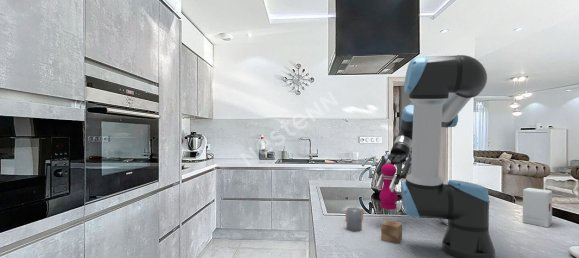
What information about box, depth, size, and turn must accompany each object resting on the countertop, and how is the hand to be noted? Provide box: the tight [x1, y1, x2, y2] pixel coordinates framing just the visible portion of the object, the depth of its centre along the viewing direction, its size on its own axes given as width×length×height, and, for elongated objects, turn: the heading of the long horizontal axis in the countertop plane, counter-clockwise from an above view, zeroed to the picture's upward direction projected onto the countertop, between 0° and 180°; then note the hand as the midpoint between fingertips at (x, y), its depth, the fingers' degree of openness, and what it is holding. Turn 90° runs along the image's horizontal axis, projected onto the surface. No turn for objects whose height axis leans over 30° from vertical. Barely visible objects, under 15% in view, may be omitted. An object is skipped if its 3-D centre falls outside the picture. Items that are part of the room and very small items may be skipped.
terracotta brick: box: [344, 207, 364, 223], centre depth 130 cm, size 4×8×5 cm, turn 135°
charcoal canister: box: [346, 207, 363, 233], centre depth 119 cm, size 6×6×8 cm
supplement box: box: [522, 187, 553, 228], centre depth 130 cm, size 9×9×15 cm
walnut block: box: [380, 219, 403, 245], centre depth 108 cm, size 6×6×6 cm
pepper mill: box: [379, 159, 399, 211], centre depth 122 cm, size 7×7×20 cm
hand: (384, 188), depth 120 cm, fingers closed on pepper mill, 5 cm apart
